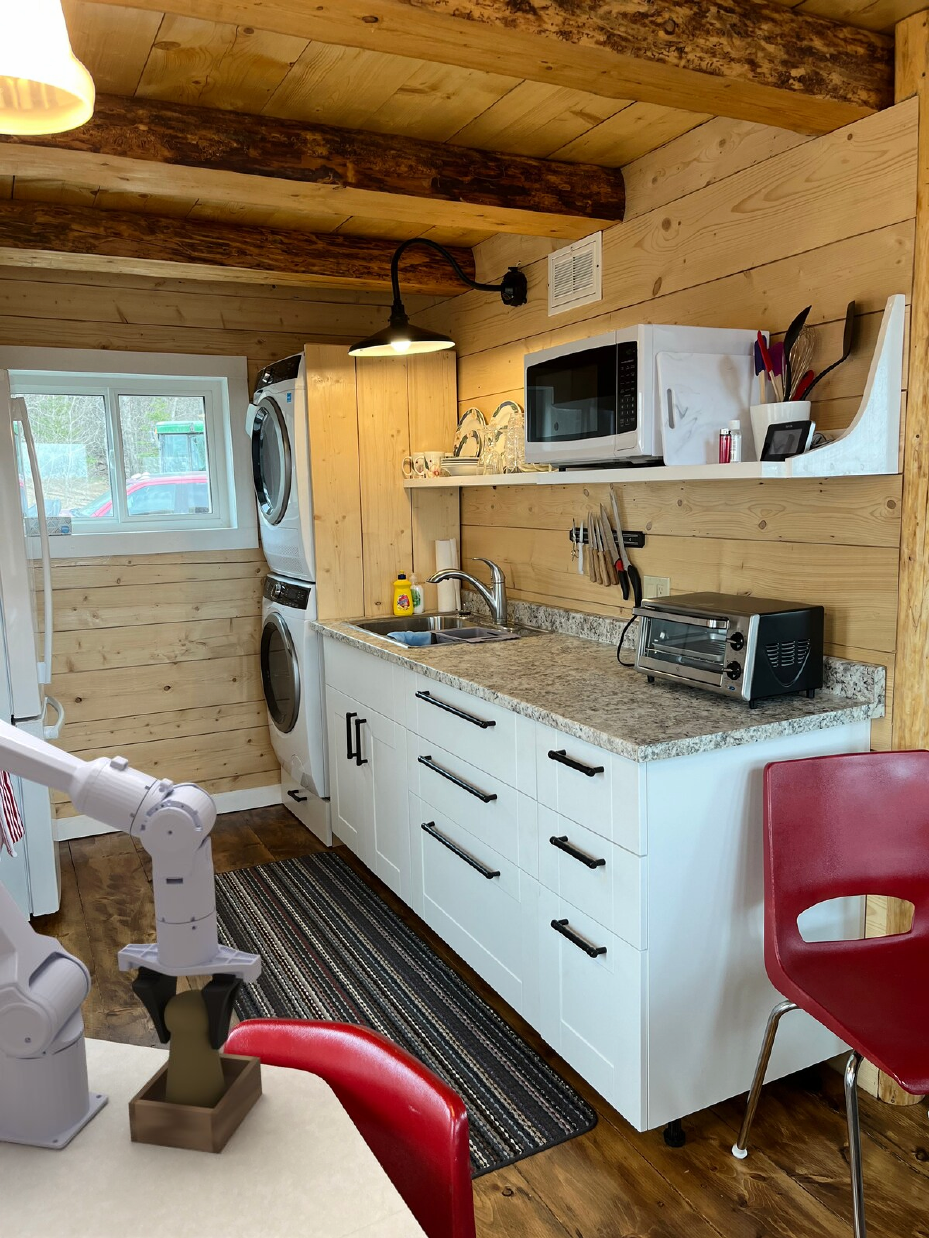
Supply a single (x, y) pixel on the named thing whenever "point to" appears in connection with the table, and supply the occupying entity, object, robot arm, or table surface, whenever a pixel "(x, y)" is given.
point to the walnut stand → (196, 1109)
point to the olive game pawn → (192, 1054)
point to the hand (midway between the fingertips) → (194, 1041)
